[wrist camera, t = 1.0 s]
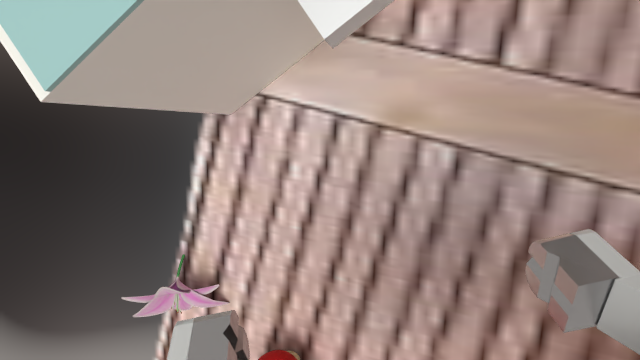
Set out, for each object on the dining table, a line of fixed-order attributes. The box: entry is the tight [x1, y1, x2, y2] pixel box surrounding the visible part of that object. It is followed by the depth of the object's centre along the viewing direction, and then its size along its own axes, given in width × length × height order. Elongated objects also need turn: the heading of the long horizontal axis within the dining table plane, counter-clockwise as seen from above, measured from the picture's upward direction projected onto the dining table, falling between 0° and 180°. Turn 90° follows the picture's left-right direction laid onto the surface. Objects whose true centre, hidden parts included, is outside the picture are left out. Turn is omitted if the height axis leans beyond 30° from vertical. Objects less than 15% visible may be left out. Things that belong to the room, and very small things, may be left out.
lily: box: [122, 255, 229, 317], centre depth 49 cm, size 12×12×10 cm
